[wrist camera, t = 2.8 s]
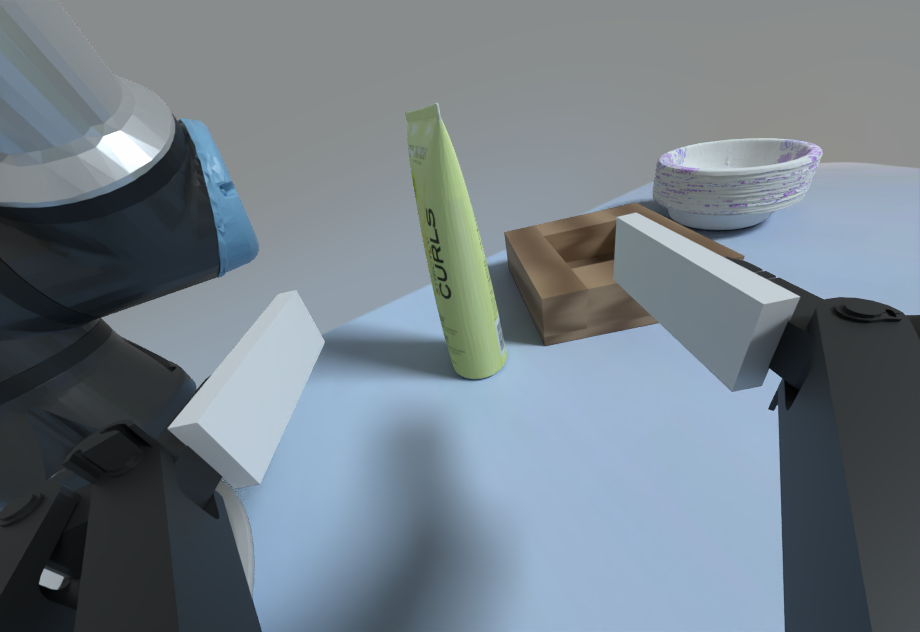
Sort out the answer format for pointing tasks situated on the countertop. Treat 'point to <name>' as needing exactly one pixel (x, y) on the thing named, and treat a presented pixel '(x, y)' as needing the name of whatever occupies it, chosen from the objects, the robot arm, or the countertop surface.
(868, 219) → the countertop surface
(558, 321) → the socket block
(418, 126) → the tube
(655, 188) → the paper bowls
